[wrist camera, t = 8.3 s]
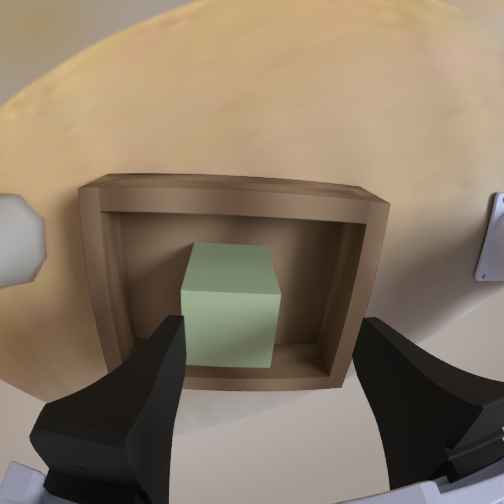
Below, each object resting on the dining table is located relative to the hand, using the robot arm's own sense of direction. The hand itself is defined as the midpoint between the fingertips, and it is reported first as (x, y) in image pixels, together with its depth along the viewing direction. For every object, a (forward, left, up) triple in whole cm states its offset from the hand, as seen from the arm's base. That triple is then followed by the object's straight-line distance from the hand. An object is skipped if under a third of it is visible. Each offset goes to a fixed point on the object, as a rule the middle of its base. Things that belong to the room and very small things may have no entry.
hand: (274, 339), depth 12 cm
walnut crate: (+2, +2, -9) cm, 10 cm away
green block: (+2, +2, -9) cm, 9 cm away
